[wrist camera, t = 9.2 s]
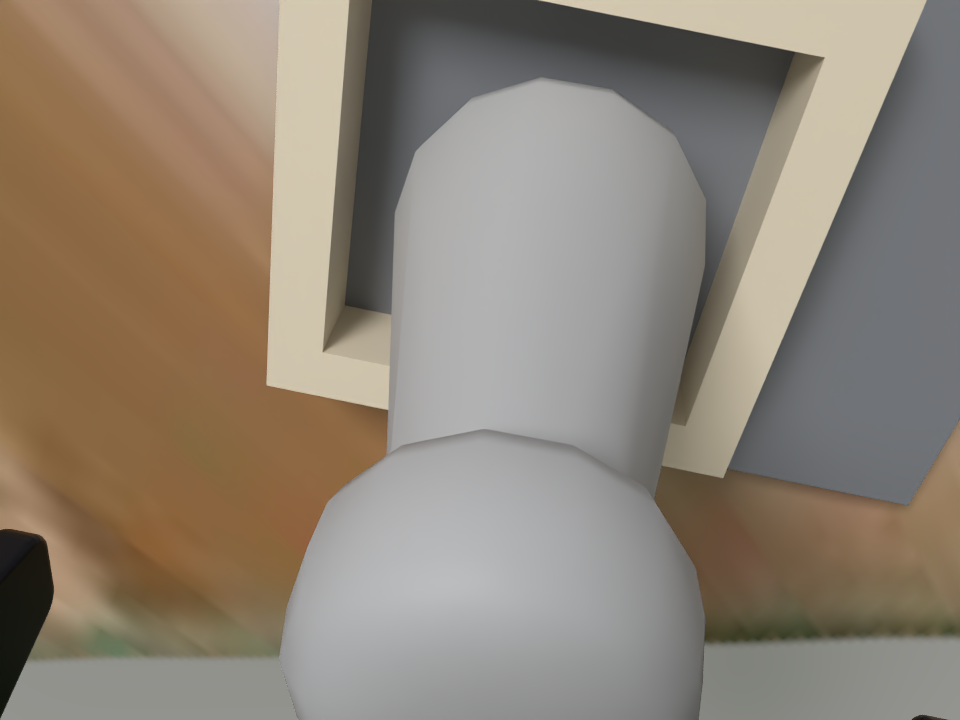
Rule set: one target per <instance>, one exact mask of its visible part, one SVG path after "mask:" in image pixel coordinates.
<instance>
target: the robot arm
mask: <svg viewBox="0 0 960 720" xmlns="http://www.w3.org/2000/svg"><path fill="white" fill-rule="evenodd" d="M53 594H54V585H53V579H52V573H51V566H50V560H49V554H48V547H47V543H46V541H45V540H44V538H43V537H42V536H40V535H37V534H33V533H28V532H23V531H18V530H13V529H3V530H0V718H1V716H2V714H3V712H4V709H5V707H6V705H7V703H8V701H9V698H10V696H11V694H12V692H13V690H14V687H15V685H16V683H17V681H18V679H19V676H20V674H21V672H22V670H23V667H24V665H25V663H26V661H27V659H28V657H29V654H30V652H31V650H32V648H33V646H34V643H35V641H36V639H37V637H38V635H39V633H40V630H41V628H42V626H43V624H44V622H45V619H46V617H47V615H48V613H49V610H50V607H51V604H52V600H53ZM912 720H946V719H941V718H937V717H932V716H927V715H919V716H917V717H914V718H913V719H912Z"/></svg>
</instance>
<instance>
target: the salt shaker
mask: <svg viewBox="0 0 960 720" xmlns="http://www.w3.org/2000/svg"><path fill="white" fill-rule="evenodd" d="M705 240H706V199H705V197H704V194H703V192H702V190H701V188H700V186H699V184H698V182H697V180H696V178H695V176H694V174H693V171H692V169H691V167H690V165H689V163H688V161H687V159H686V157H685V155H684V153H683V151H682V149H681V146H680V144H679V142H678V140H677V138H676V137H675V135H674V134H673V133H672V131H671V130H670V129H669V128H667V127H666V126H664V125H663V124H661V123H660V122H658V121H657V120H656V119H654V118H653V117H651V116H650V115H648V114H647V113H646V112H644V111H643V110H641V109H640V108H638V107H637V106H635V105H634V104H633V103H631V102H630V101H628V100H627V99H625V98H624V97H622V96H621V95H620V94H618V93H617V92H615V91H614V90H612V89H608V88H602V87H596V86H590V85H584V84H578V83H573V82H567V81H561V80H555V79H549V78H543V77H540V78H537V79H533V80H530V81H526V82H523V83H520V84H516V85H513V86H510V87H506V88H503V89H500V90H496V91H493V92H489V93H486V94H483V95H479V96H476V97H473V98H471V99H470V100H469V101H468V102H467V103H466V104H465V105H464V106H463V107H462V108H461V109H460V110H459V111H458V112H456V113H455V114H454V115H453V116H452V117H451V118H450V119H449V120H448V121H447V122H446V123H445V124H444V125H443V126H441V127H440V128H439V129H438V130H437V131H436V132H435V133H434V134H433V135H432V136H431V137H430V138H429V139H427V140H426V141H425V142H424V143H423V144H422V145H421V146H420V147H419V148H418V149H417V151H416V152H415V154H414V157H413V160H412V163H411V166H410V169H409V172H408V175H407V178H406V181H405V184H404V187H403V190H402V193H401V196H400V199H399V202H398V205H397V208H396V211H395V222H394V252H393V282H392V312H391V342H390V372H389V402H388V432H387V456H385V457H384V458H383V459H381V460H380V461H378V462H377V463H375V464H374V465H373V466H371V467H370V468H368V469H367V470H365V471H364V472H363V473H361V474H360V475H358V476H357V477H355V478H354V479H353V480H351V481H350V482H348V483H347V484H346V485H344V486H343V487H342V488H341V489H340V490H339V491H338V492H337V493H336V494H335V495H334V496H333V497H332V498H331V499H330V500H329V501H328V502H327V505H326V507H325V509H324V511H323V514H322V516H321V518H320V520H319V523H318V525H317V527H316V529H315V532H314V534H313V536H312V538H311V541H310V543H309V545H308V548H307V550H306V553H305V556H304V559H303V562H302V565H301V568H300V571H299V573H298V576H297V579H296V582H295V585H294V588H293V591H292V594H291V596H290V599H289V602H288V605H287V610H286V617H285V624H284V630H283V637H282V643H281V650H280V657H279V662H280V665H281V668H282V671H283V674H284V677H285V680H286V684H287V687H288V689H289V693H290V696H291V699H292V702H293V705H294V708H295V712H296V715H297V718H298V719H299V720H698V719H699V710H700V701H701V692H702V683H703V660H704V634H705V614H704V609H703V604H702V599H701V593H700V588H699V583H698V578H697V572H696V568H695V566H694V564H693V563H692V561H691V559H690V558H689V556H688V554H687V553H686V551H685V549H684V548H683V546H682V545H681V543H680V541H679V540H678V538H677V537H676V535H675V533H674V532H673V530H672V529H671V527H670V525H669V524H668V522H667V521H666V519H665V517H664V516H663V514H662V513H661V511H660V509H659V508H658V506H657V505H656V503H655V501H654V498H655V494H656V489H657V484H658V480H659V475H660V470H661V466H662V461H663V457H664V452H665V447H666V443H667V438H668V434H669V429H670V424H671V420H672V415H673V411H674V406H675V401H676V397H677V392H678V388H679V383H680V378H681V374H682V369H683V365H684V360H685V355H686V351H687V346H688V342H689V337H690V332H691V328H692V323H693V319H694V314H695V309H696V305H697V300H698V296H699V291H700V286H701V282H702V277H703V272H704V268H705Z"/></svg>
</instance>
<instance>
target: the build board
mask: <svg viewBox="0 0 960 720" xmlns="http://www.w3.org/2000/svg"><path fill="white" fill-rule="evenodd" d="M540 77H543V78H549V79H555V80H561V81H567V82H573V83H578V84H584V85H590V86H596V87H602V88H608V89H612V90H614V91H615V92H617V93H618V94H620V95H621V96H622V97H624V98H625V99H627V100H628V101H630V102H631V103H633V104H634V105H635V106H637V107H638V108H640V109H641V110H643V111H644V112H646V113H647V114H648V115H650V116H651V117H653V118H654V119H656V120H657V121H658V122H660V123H661V124H663V125H664V126H666V127H667V128H669V129H670V130H671V131H672V133H673V134H674V135H675V137H676V138H677V140H678V142H679V144H680V146H681V149H682V151H683V153H684V155H685V157H686V159H687V161H688V163H689V165H690V167H691V169H692V171H693V174H694V176H695V178H696V180H697V182H698V184H699V186H700V188H701V190H702V192H703V194H704V197H705V199H706V240H705V268H704V272H703V277H702V282H701V286H700V291H699V296H698V300H697V305H696V309H695V314H694V319H693V323H692V328H691V332H690V337H689V342H688V346H687V351H686V355H685V360H684V365H683V369H682V374H681V378H680V383H679V388H678V392H677V397H676V401H675V406H674V411H673V415H672V420H671V424H670V429H669V434H668V438H667V443H666V447H665V452H664V457H663V461H662V466H666V467H670V468H675V469H680V470H685V471H690V472H695V473H700V474H705V475H710V476H715V477H720V478H723V477H724V475H725V472H726V470H727V469H731V470H736V471H741V472H746V473H750V474H755V475H760V476H765V477H770V478H775V479H780V480H785V481H790V482H795V483H800V484H804V485H809V486H814V487H819V488H824V489H829V490H834V491H839V492H844V493H849V494H854V495H859V496H863V497H868V498H873V499H878V500H883V501H888V502H893V503H898V504H903V505H909V503H910V501H911V500H912V498H913V496H914V495H915V493H916V491H917V490H918V488H919V486H920V485H921V483H922V481H923V480H924V478H925V476H926V475H927V473H928V471H929V470H930V468H931V466H932V465H933V463H934V461H935V460H936V458H937V456H938V455H939V453H940V451H941V450H942V448H943V446H944V445H945V443H946V441H947V439H948V438H949V436H950V434H951V433H952V431H953V429H954V428H955V426H956V424H957V423H958V421H959V419H960V0H280V8H279V37H278V66H277V95H276V125H275V154H274V183H273V213H272V242H271V271H270V300H269V330H268V359H267V385H268V386H273V387H278V388H283V389H288V390H292V391H297V392H302V393H307V394H312V395H317V396H322V397H327V398H332V399H337V400H342V401H346V402H351V403H356V404H361V405H366V406H371V407H376V408H381V409H386V410H388V402H389V372H390V342H391V312H392V282H393V252H394V222H395V211H396V208H397V205H398V202H399V199H400V196H401V193H402V190H403V187H404V184H405V181H406V178H407V175H408V172H409V169H410V166H411V163H412V160H413V157H414V154H415V152H416V151H417V149H418V148H419V147H420V146H421V145H422V144H423V143H424V142H425V141H426V140H427V139H429V138H430V137H431V136H432V135H433V134H434V133H435V132H436V131H437V130H438V129H439V128H440V127H441V126H443V125H444V124H445V123H446V122H447V121H448V120H449V119H450V118H451V117H452V116H453V115H454V114H455V113H456V112H458V111H459V110H460V109H461V108H462V107H463V106H464V105H465V104H466V103H467V102H468V101H469V100H470V99H471V98H473V97H476V96H479V95H483V94H486V93H489V92H493V91H496V90H500V89H503V88H506V87H510V86H513V85H516V84H520V83H523V82H526V81H530V80H533V79H537V78H540Z"/></svg>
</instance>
